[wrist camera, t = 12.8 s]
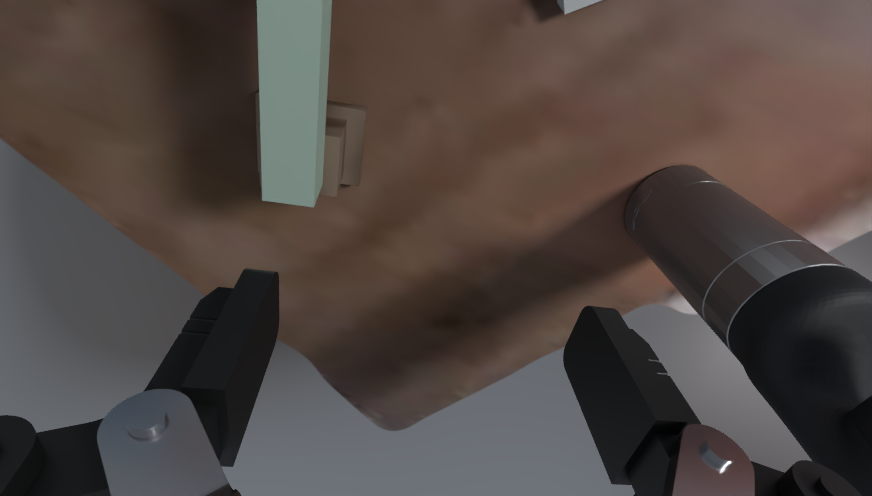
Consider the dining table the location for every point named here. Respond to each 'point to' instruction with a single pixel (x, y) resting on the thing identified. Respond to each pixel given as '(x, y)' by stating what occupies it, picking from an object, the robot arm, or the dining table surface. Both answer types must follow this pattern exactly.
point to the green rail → (293, 97)
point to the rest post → (335, 145)
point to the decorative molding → (574, 4)
